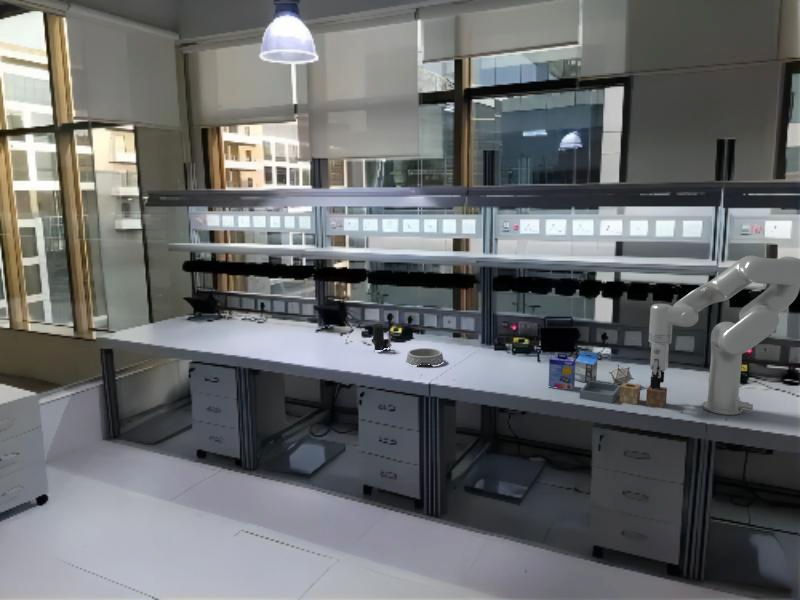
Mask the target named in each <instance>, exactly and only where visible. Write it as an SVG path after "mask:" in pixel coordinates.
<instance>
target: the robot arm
mask: <svg viewBox="0 0 800 600" xmlns="http://www.w3.org/2000/svg"><path fill="white" fill-rule="evenodd" d="M752 283H755V284H763V285H764V284H765V285H769V286H768V287H767V288H766V289H765V290H764V291H763V292H761V294H759V295H757V297H755V298H754V299H752V300H751V301H750V302H749V303H747V304H746V305H744V306H743V307H742V308H741V309H740V311H739V314H738V319H739V320H738V321H737V322H736V323H734V322H731V321H722V322H719V323H717V324H715V326H713V328H712V331H711V334H710V362H709V363H710V364H709V365H710V366H709V377H708V378H709V379H708V390H707V400H706V401H702V402H703V403H702V408H703V409H704V410H706V411H708V412H710V413H714V414H720V415H726V416H727V415H728V416H735V415H736V416H737V415H741V414H742V413H743V410H744V409H746V410H753V409H754V408H753V407H754V404H753V403H750V402H748V401H742V400H740V395H739V394H740V385H741V372H742V360H743V357H742V355H743V354H745V353H747V352H748V351H750V350H751V349H752V348H754V347H756V346H757V345H758V344H759V343H761V342H762V341H763V340H766V338H768V337H769V336H771V334H773V332H775V331H776V329H777V327H778V326H779V323H780V317H779V315H780V314H781V313H782V312H783V311H785V309H787V308H788V307H789V306H790V305H791V304H792V303H794V301H795V300H796V298H797V297H798V295H799V292H800V258H797V257H794V256H783V257H782V256H781V257H780V258H772V257H771V258H770V257H767V258H766V257H760V256H756V255H746V256H744V257H742V258H740V259H739V260H737V261H735V262H734V263H733V264H732V265H730V266H729V267H728V268H727V269H725V270H723V271H722V272H721V273H719V274H717V276H715V277H714V278H712V279H711V280H710V281H708V282H705V283H703V285H701V286H699V287H697V288H695V289H693V290H691V291H690V292H689V293H688V294H686V295H685V296H683V297H682V298H681V299H679V300H677V301H676V302H675V303H674V304H673V305H671V304H667V303H654V304H652V305H651V306H650V309H649V310H650V312H649V326H648V327H649V328H648V342H649V343H650V344H651V347H650V348H651V349H650V364H649V367H650V370H651V375H650V384H649V386H650V387H651V388H657V389H660V387H661V384H662V383H664V381H665V371H666V370H667V368H668V366H669V347H670V344H672V335H673V326H677V327H682V328H683V327H684V328H689V327H693V326H695V325H696V324H697V323H698V321H699V318H700V317H699V312H701V311H702V310H703V309H705V308H707V307H709V306H710V305H713V304H716V303H721V302H724V301H727V300H729V299H731V298H732V297H734V296H735V295H736V294H738V293H739V292H741V291H742V290H744V289H745V288H746V287H748V286H750V285H751V284H752ZM658 372H659V373H658ZM660 373H661V378H660Z"/></svg>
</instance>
